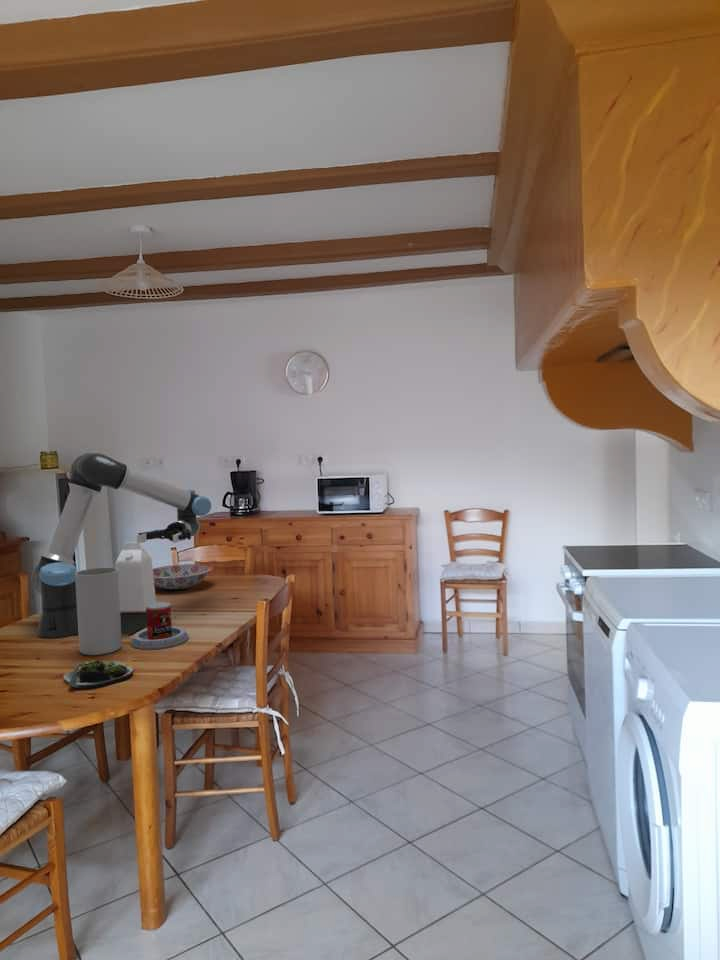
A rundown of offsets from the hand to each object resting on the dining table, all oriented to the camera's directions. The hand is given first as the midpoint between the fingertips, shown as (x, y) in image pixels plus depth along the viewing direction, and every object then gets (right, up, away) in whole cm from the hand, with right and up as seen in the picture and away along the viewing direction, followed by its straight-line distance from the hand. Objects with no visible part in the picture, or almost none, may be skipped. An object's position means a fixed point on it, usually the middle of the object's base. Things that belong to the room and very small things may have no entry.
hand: (155, 539), depth 240 cm
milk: (-15, -29, +24) cm, 41 cm away
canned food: (+8, -30, -23) cm, 39 cm away
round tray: (+8, -31, -23) cm, 39 cm away
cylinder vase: (-8, -32, -30) cm, 45 cm away
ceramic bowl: (-7, -27, +58) cm, 64 cm away
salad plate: (+1, -34, -56) cm, 65 cm away
